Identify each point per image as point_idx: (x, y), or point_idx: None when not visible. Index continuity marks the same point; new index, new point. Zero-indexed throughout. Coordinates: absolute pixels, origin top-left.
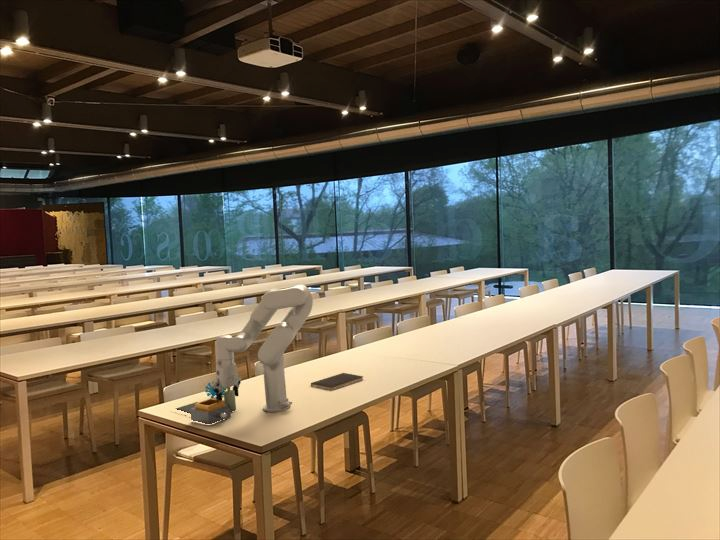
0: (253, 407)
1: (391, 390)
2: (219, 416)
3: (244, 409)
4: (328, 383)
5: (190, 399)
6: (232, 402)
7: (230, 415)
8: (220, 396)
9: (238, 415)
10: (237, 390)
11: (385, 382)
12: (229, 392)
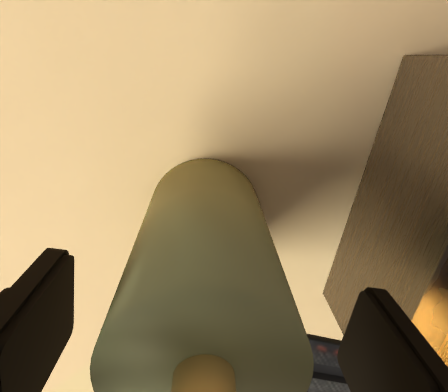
0: (19, 21)
1: None
2: None
3: (123, 88)
4: None
5: None
6: (233, 200)
7: (418, 55)
8: (424, 355)
9: (322, 12)
10: (14, 310)
11: None
12: (252, 336)
